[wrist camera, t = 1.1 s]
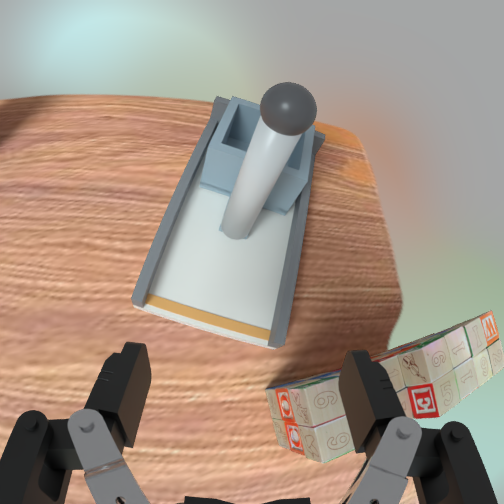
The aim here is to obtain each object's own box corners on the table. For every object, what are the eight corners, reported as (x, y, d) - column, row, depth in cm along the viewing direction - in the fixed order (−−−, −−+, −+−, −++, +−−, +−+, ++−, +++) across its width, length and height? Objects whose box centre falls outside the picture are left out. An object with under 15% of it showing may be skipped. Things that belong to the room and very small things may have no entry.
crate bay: (134, 307, 28) (127, 287, 23) (208, 130, 40) (216, 96, 35) (273, 349, 30) (297, 339, 25) (307, 164, 42) (325, 134, 37)
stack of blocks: (277, 447, 26) (343, 472, 15) (263, 388, 29) (321, 382, 18) (430, 382, 33) (508, 365, 22) (419, 337, 35) (494, 308, 25)
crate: (182, 230, 32) (209, 76, 16) (221, 134, 39) (261, 6, 23) (275, 260, 33) (372, 137, 17) (295, 160, 40) (361, 45, 24)
